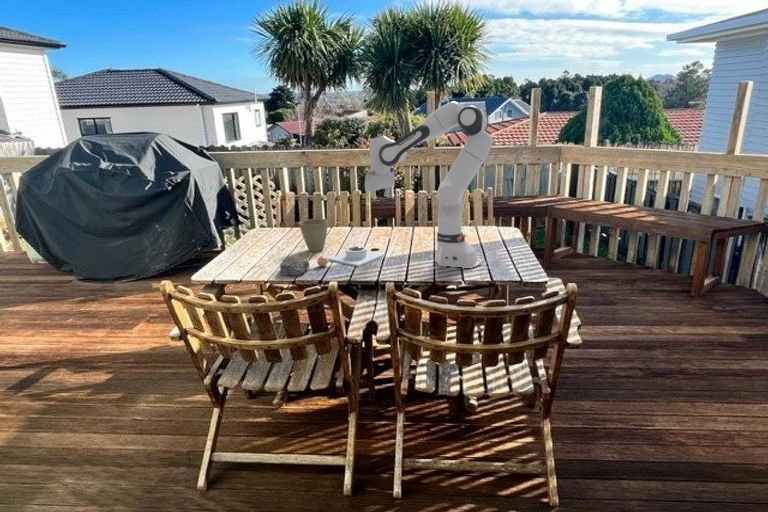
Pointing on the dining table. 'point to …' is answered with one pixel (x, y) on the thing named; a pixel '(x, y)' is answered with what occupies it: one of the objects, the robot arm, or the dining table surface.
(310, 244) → the plant pot
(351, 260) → the ring plate
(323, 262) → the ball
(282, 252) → the dining table surface
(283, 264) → the rock
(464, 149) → the robot arm
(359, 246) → the steel ball
